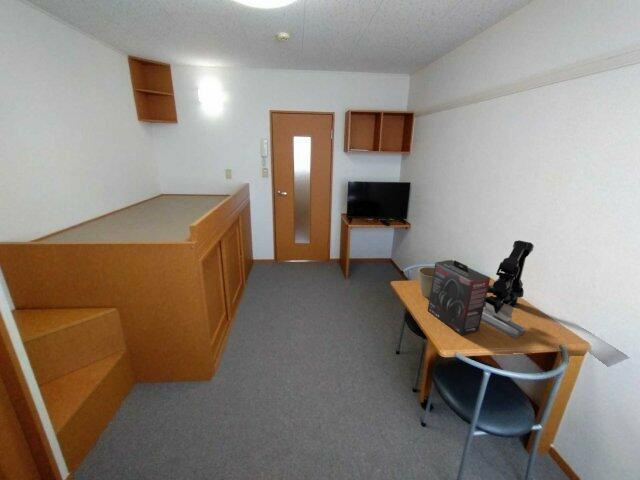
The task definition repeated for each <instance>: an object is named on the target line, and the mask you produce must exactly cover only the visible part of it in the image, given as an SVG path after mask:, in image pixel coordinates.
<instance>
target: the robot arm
mask: <svg viewBox="0 0 640 480" xmlns="http://www.w3.org/2000/svg"><path fill="white" fill-rule="evenodd" d="M534 247H535V246H534V243H532V242H529V241H524V240H520V239H519V240H514V242H513V245H512V248H513V249H512V250H511V253H509V255H508V257H505V258H503V260H502V261H501V262H500V263H499V265H498V268H497V271H496V272H495V275H496V276H498V278H497V279H496V280H495V281H494V282H493V283H492V285H491V284H489V287H488V291H487V294H492V295H489V296H488V297H486V300H485V302H487V303H489V304H491V305H493V306H494V310H495V313H498V312H499V311H500V309H501V308H502V307H503V305H504V304H503V303H505V304H507V305H509V306H511V307H513V308H515V307H516V306H518V305H519V306H520V303H518V301H519V298H523V297H524V294H525V293H524V292H525V291H524V287H523V285H524V283H523V282H522V275H523V271H524V267H525V262H526V259H527V257H529V255H530V254H531V253H532V252H533V251H534Z"/></svg>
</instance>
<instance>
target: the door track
mask: <svg viewBox="0 0 640 480" xmlns="http://www.w3.org/2000/svg"><path fill="white" fill-rule="evenodd" d="M481 322H483V323H485V324H486V325H488V326H490V327H492V328H494V329H495V330H498V331H499V332H501V333H502V334H505V335H506V336H508V337H509V338H512V339H515V338H517V337H519V336H521V335H523V334H525V333H526V329H525V326H523V325H520V324H518V323H517V322H515V321H512V319H511V320H510V321H508V322H507V321H505V320H503V319H501V318H500V317H498V316H496V315H494V314H492V313H490V312H488V311H486V310H485V307H484V309H483V313H482V318H481Z"/></svg>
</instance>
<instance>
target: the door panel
mask: <svg viewBox="0 0 640 480" xmlns="http://www.w3.org/2000/svg"><path fill="white" fill-rule="evenodd" d="M503 304H504V305H503V307H502V308H501V309H500V311H499V312H498V313H495V310H494V306H493V305H491V304H489V303H487V302H486V306H485V310H486V311H488V312H490V313H492V314H494V315H496V316H498V317H500V318H501V319H503V320H505V321H507V322H508V321H510V320H511V321H512V317H513V313H514V310H515V307H512V306H510V305H507V304H505V303H503Z"/></svg>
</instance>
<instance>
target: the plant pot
mask: <svg viewBox="0 0 640 480" xmlns="http://www.w3.org/2000/svg"><path fill="white" fill-rule="evenodd" d="M433 273H434V267H433V266H432V267H431V266H424V267H420V268H419V269H418V280H419V286H420V291H421V295H422V296H423V297H425V298H428V299H429V298H430V292H431V286H432V280H433Z"/></svg>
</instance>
